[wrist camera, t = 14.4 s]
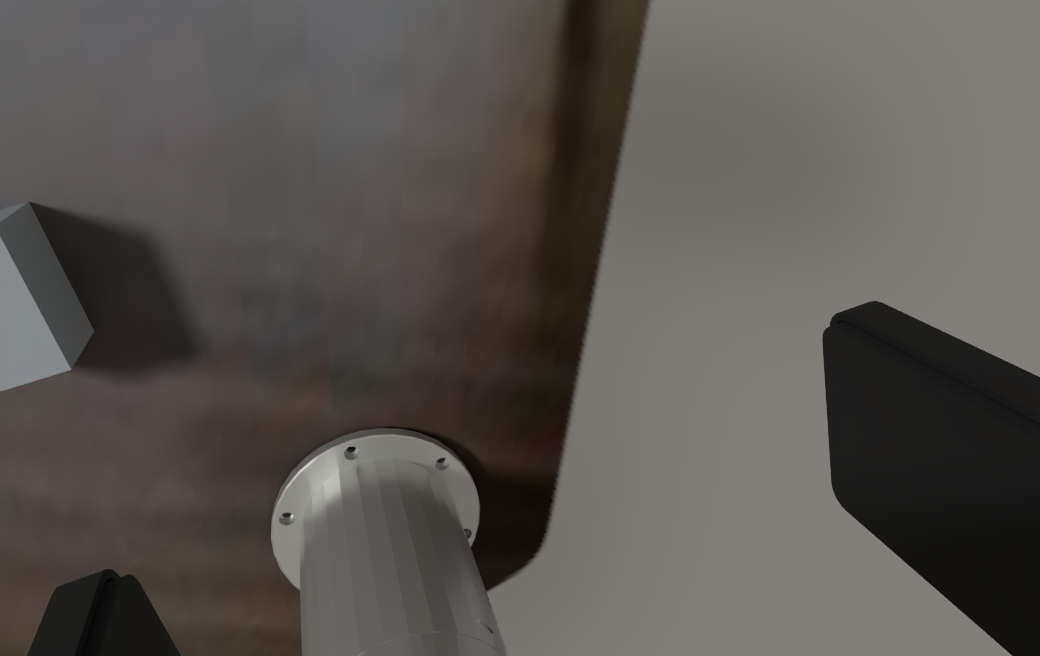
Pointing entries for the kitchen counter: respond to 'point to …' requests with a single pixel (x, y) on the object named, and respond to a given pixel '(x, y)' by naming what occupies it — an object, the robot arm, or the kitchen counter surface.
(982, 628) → the robot arm
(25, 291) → the slate brick
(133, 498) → the kitchen counter surface
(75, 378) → the kitchen counter surface
